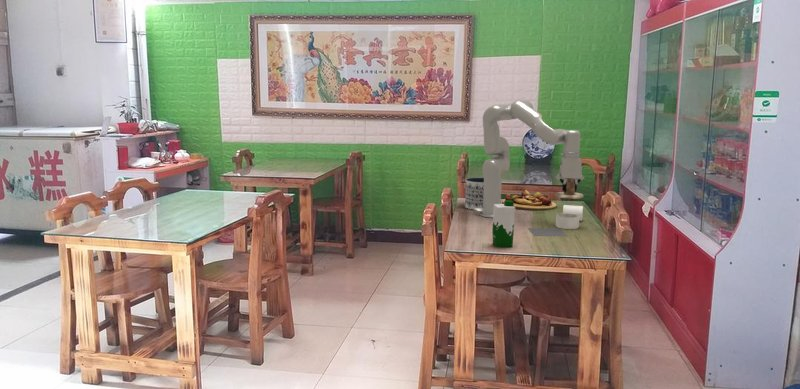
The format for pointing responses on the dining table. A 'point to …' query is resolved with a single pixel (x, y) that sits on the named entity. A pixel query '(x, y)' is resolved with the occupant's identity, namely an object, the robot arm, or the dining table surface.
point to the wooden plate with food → (531, 201)
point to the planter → (474, 193)
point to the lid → (569, 192)
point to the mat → (547, 232)
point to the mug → (574, 210)
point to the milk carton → (503, 224)
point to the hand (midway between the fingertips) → (569, 191)
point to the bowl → (567, 221)
